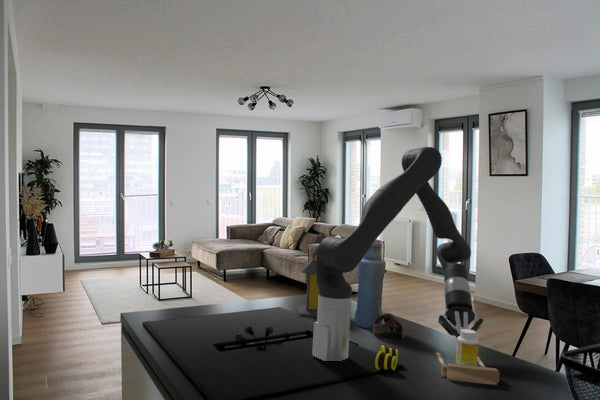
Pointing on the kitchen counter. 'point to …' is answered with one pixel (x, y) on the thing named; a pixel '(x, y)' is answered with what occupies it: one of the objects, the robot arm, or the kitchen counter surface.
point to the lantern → (311, 286)
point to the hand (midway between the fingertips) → (463, 348)
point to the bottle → (370, 287)
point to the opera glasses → (386, 358)
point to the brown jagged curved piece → (388, 325)
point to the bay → (469, 372)
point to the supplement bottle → (467, 348)
